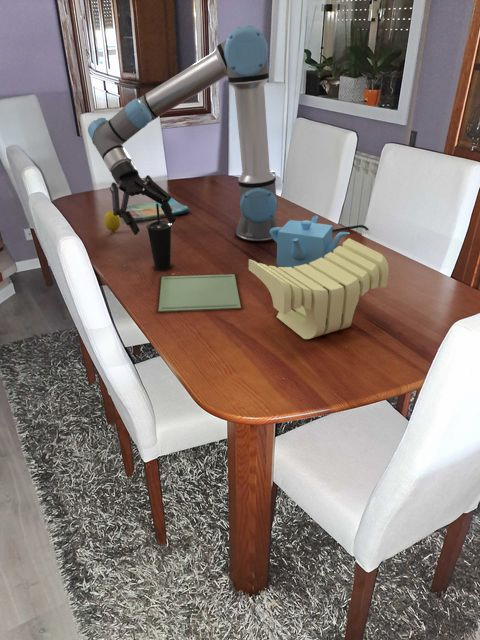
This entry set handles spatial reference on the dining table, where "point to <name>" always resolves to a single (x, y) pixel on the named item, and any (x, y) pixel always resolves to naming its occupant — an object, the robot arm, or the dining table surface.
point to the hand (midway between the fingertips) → (155, 227)
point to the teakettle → (303, 242)
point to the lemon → (112, 221)
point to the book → (154, 210)
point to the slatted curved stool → (323, 288)
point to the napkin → (198, 293)
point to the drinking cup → (160, 242)
